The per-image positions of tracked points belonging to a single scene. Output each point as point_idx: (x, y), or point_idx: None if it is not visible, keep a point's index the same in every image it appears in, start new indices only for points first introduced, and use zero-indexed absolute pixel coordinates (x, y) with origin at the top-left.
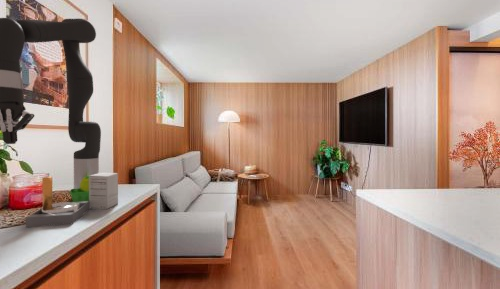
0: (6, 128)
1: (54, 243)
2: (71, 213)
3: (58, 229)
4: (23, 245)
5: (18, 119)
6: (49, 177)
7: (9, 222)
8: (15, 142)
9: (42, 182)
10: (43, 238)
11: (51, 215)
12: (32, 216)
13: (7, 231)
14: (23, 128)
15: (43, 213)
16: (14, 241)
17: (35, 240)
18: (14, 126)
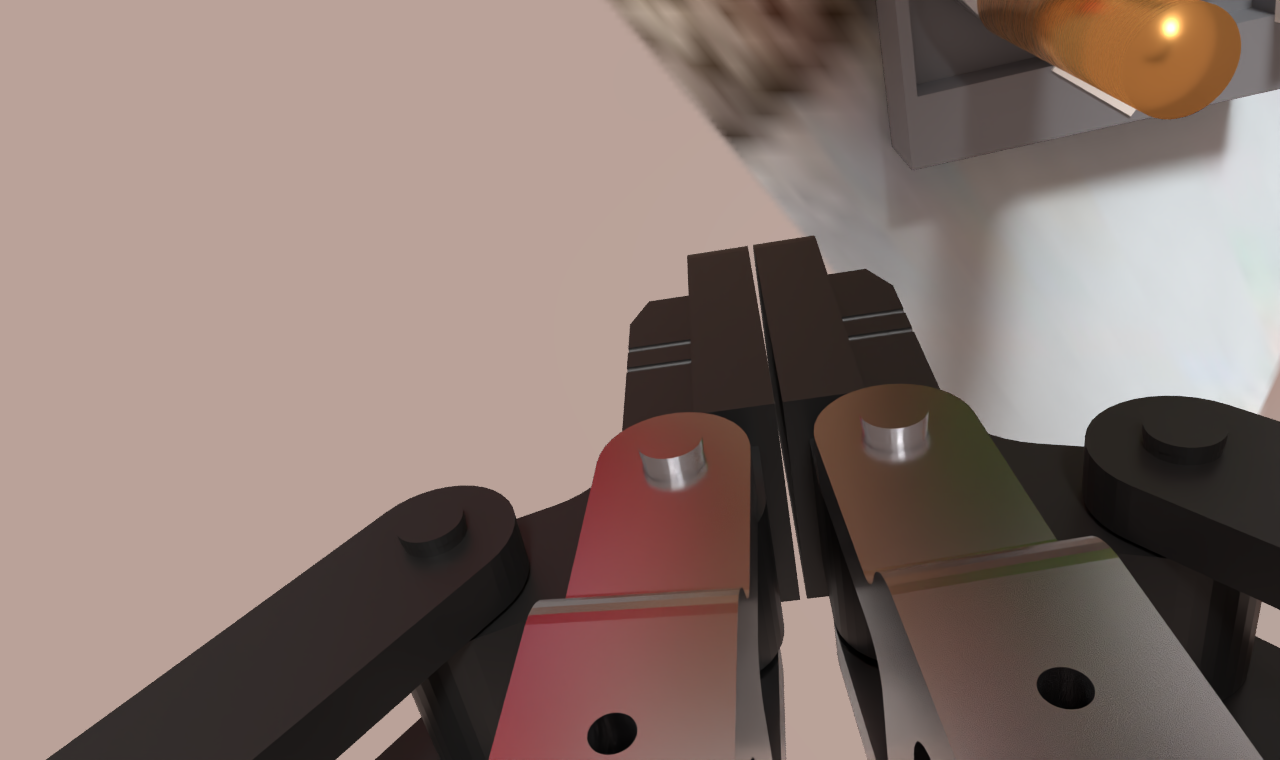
0: (781, 670)
1: (1235, 406)
2: (1263, 55)
3: (1164, 186)
4: (1069, 427)
5: (1219, 738)
6: (1209, 56)
7: (667, 20)
8: (816, 247)
9: (1100, 82)
10: (1134, 339)
11: (1103, 114)
12: (953, 144)
13: (813, 222)
14: (1235, 445)
15: (977, 15)
16: (981, 378)
17: (1100, 366)
18: (932, 554)
